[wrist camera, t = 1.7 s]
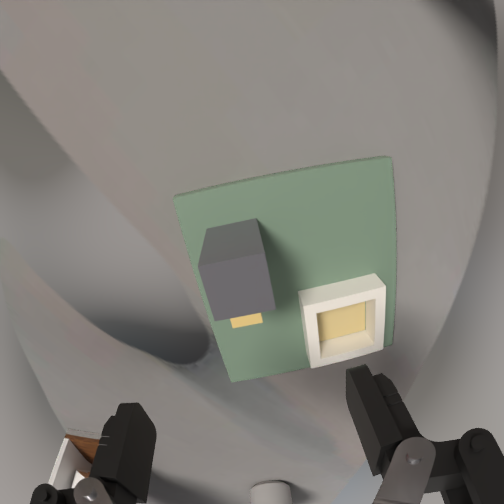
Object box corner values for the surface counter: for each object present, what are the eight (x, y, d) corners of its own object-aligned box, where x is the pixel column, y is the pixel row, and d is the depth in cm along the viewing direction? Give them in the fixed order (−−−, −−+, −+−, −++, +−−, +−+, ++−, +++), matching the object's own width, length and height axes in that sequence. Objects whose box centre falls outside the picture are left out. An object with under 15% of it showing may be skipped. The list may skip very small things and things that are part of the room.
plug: (206, 228, 25) (197, 266, 18) (256, 218, 25) (264, 252, 18) (220, 281, 26) (217, 331, 20) (267, 271, 26) (278, 319, 20)
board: (175, 195, 25) (166, 206, 21) (384, 155, 24) (406, 161, 21) (231, 374, 32) (231, 399, 29) (388, 338, 32) (400, 358, 29)
